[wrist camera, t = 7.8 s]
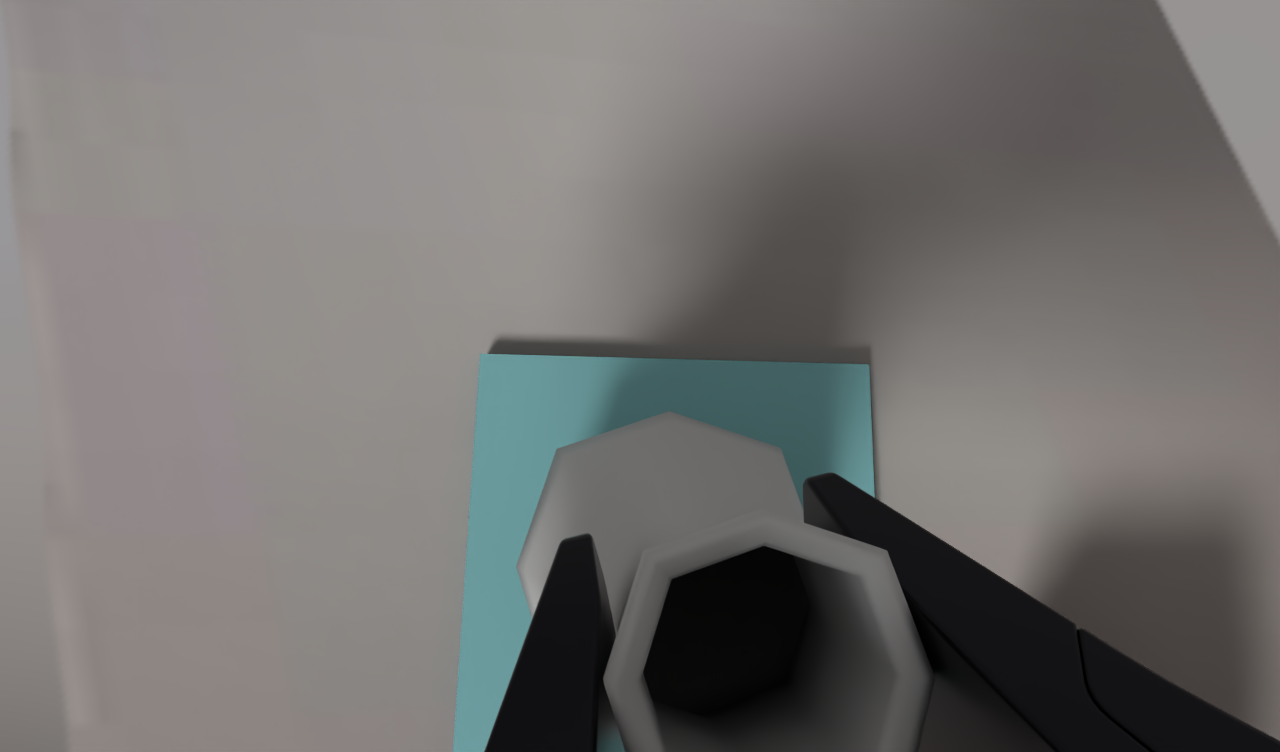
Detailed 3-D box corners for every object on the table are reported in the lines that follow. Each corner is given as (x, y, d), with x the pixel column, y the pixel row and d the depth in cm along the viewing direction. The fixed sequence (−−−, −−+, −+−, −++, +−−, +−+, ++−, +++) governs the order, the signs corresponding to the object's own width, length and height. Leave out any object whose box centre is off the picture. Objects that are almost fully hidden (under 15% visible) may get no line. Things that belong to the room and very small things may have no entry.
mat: (878, 779, 18) (886, 788, 17) (456, 773, 18) (450, 781, 17) (861, 368, 20) (868, 364, 19) (484, 358, 20) (480, 353, 19)
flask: (520, 411, 17) (402, 308, 7) (812, 411, 17) (1097, 313, 7) (514, 728, 16) (361, 1149, 6) (826, 720, 16) (1189, 1102, 6)
